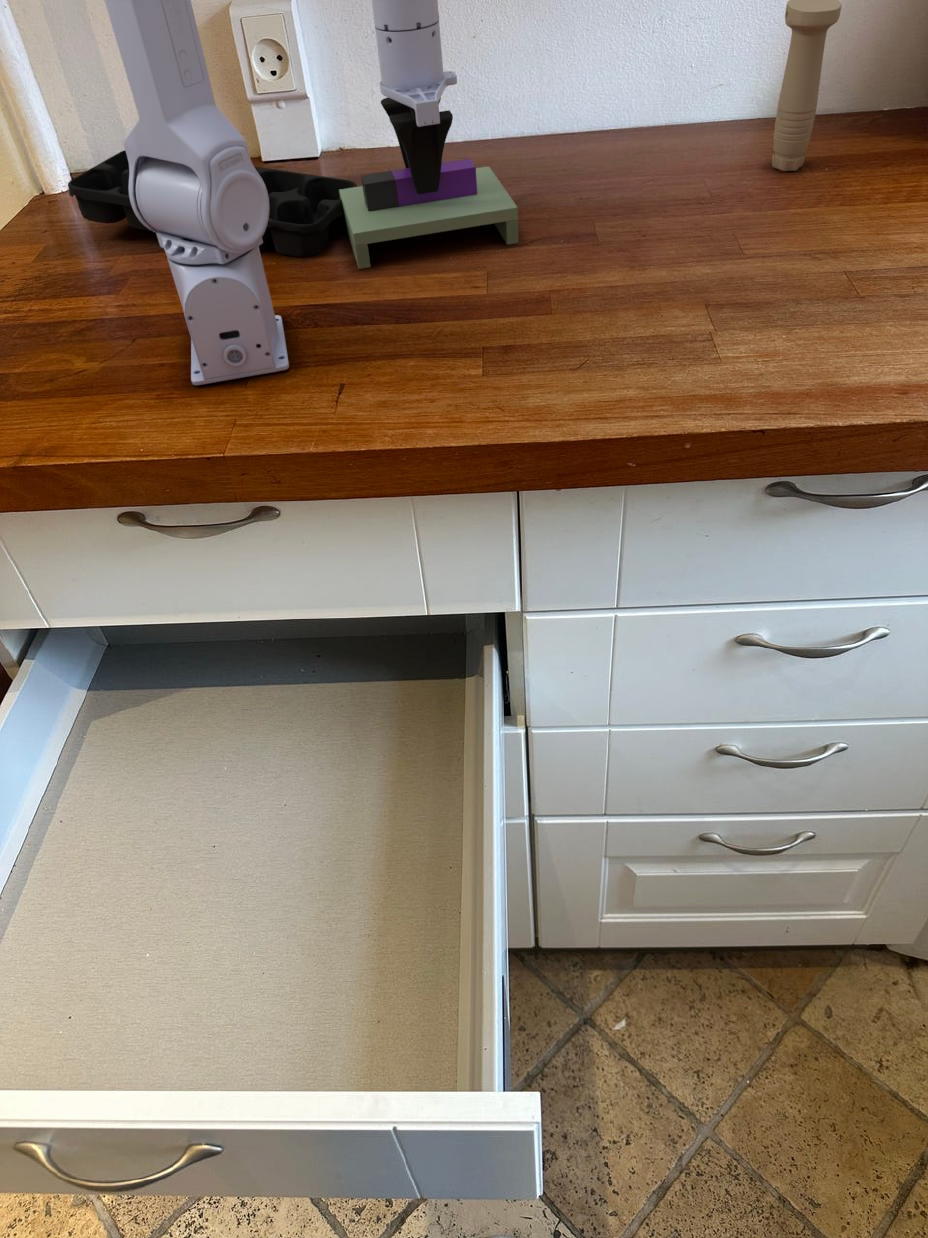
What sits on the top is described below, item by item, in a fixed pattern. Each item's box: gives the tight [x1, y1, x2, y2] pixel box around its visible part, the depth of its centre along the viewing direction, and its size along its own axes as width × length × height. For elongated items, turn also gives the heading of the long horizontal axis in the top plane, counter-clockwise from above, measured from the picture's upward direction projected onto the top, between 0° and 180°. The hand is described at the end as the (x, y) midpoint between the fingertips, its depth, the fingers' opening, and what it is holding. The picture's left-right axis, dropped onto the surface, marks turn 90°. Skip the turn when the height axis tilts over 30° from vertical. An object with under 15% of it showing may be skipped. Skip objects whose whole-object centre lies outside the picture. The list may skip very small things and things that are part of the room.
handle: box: [771, 0, 843, 172], centre depth 94 cm, size 5×6×15 cm
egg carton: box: [67, 149, 358, 258], centre depth 97 cm, size 18×30×4 cm, turn 84°
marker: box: [360, 158, 477, 211], centre depth 90 cm, size 3×11×3 cm, turn 102°
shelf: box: [339, 165, 520, 270], centre depth 92 cm, size 12×16×4 cm
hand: (423, 183), depth 90 cm, fingers open, 4 cm apart
